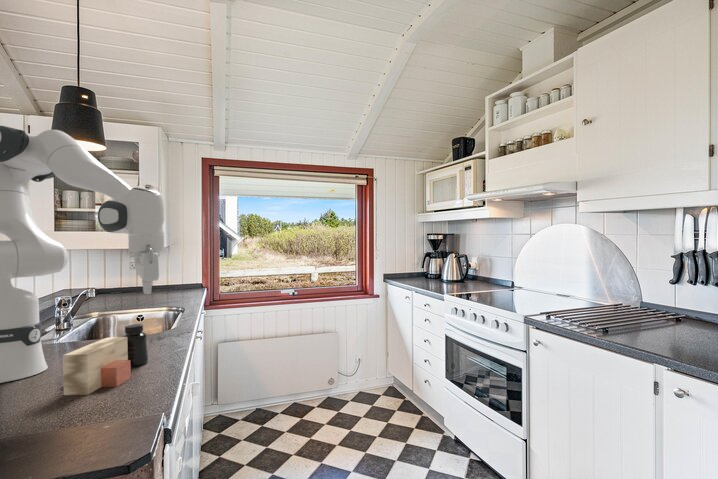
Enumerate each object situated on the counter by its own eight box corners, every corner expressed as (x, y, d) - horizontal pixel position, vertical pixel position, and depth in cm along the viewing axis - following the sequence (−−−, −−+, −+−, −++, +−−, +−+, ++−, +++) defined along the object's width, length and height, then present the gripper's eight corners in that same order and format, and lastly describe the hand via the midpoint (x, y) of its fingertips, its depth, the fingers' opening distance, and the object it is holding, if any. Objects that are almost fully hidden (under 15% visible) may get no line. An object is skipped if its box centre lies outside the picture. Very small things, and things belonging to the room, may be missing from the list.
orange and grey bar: (130, 377, 101) (130, 359, 101) (116, 386, 95) (116, 367, 95) (79, 379, 101) (79, 361, 101) (62, 388, 95) (62, 369, 95)
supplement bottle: (131, 360, 116) (130, 323, 116) (152, 360, 115) (151, 322, 115) (116, 368, 109) (115, 328, 109) (139, 368, 109) (138, 328, 108)
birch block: (63, 395, 90) (62, 355, 90) (107, 371, 106) (106, 337, 106) (88, 394, 90) (87, 354, 90) (128, 371, 106) (127, 336, 106)
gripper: (164, 246, 97) (165, 297, 97) (154, 243, 113) (155, 288, 113) (137, 246, 93) (137, 300, 93) (131, 244, 109) (131, 289, 110)
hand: (147, 293), depth 103 cm, fingers closed
